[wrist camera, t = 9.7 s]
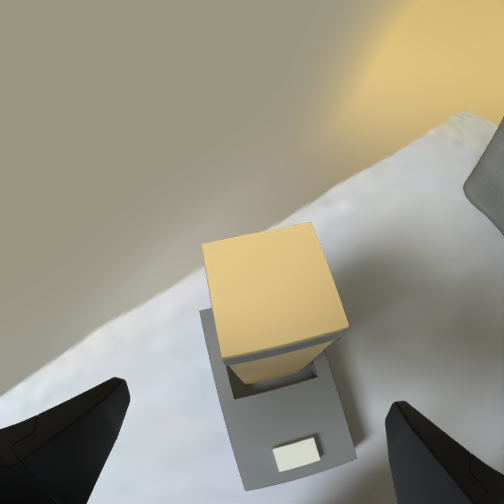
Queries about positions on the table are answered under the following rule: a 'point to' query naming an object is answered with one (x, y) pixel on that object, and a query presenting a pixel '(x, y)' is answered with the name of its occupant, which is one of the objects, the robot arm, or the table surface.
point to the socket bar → (280, 419)
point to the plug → (272, 301)
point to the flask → (489, 180)
